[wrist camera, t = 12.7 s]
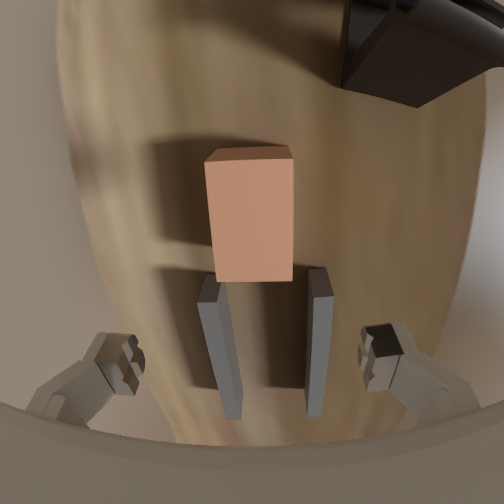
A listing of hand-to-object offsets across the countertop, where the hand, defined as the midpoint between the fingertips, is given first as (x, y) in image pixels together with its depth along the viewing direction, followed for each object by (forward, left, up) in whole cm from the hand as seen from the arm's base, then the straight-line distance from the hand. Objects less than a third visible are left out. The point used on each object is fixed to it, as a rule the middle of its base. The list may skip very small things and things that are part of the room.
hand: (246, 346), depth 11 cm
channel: (-14, 0, -14) cm, 20 cm away
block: (0, 0, -15) cm, 15 cm away
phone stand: (+12, -10, -15) cm, 22 cm away
